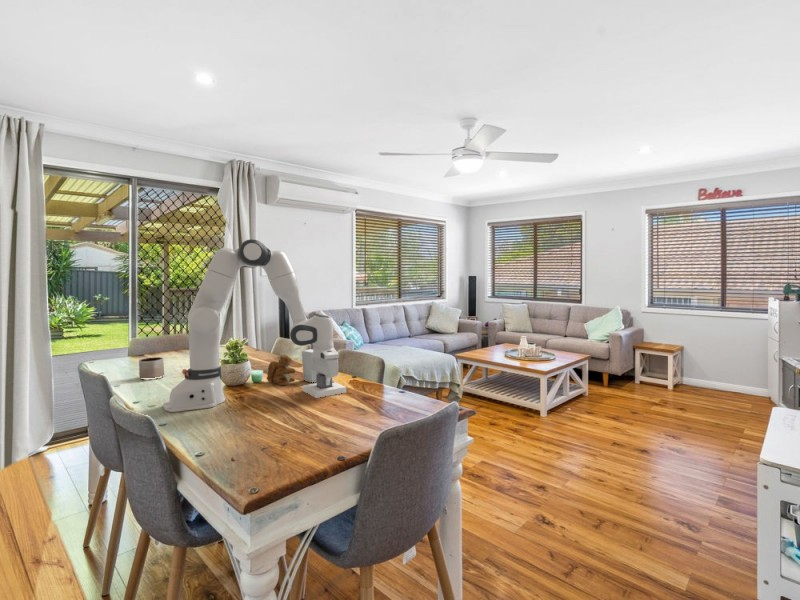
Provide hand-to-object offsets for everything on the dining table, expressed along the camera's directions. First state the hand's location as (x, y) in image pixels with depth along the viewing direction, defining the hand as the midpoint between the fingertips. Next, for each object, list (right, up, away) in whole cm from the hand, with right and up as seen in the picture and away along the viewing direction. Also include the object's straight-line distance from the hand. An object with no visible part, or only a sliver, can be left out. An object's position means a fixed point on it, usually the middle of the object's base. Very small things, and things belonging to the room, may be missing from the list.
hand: (324, 383), depth 193 cm
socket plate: (0, -4, 0) cm, 4 cm away
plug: (0, -2, 0) cm, 2 cm away
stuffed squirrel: (-24, -3, +18) cm, 30 cm away
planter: (-92, -3, +30) cm, 96 cm away
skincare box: (-9, -3, +20) cm, 23 cm away
